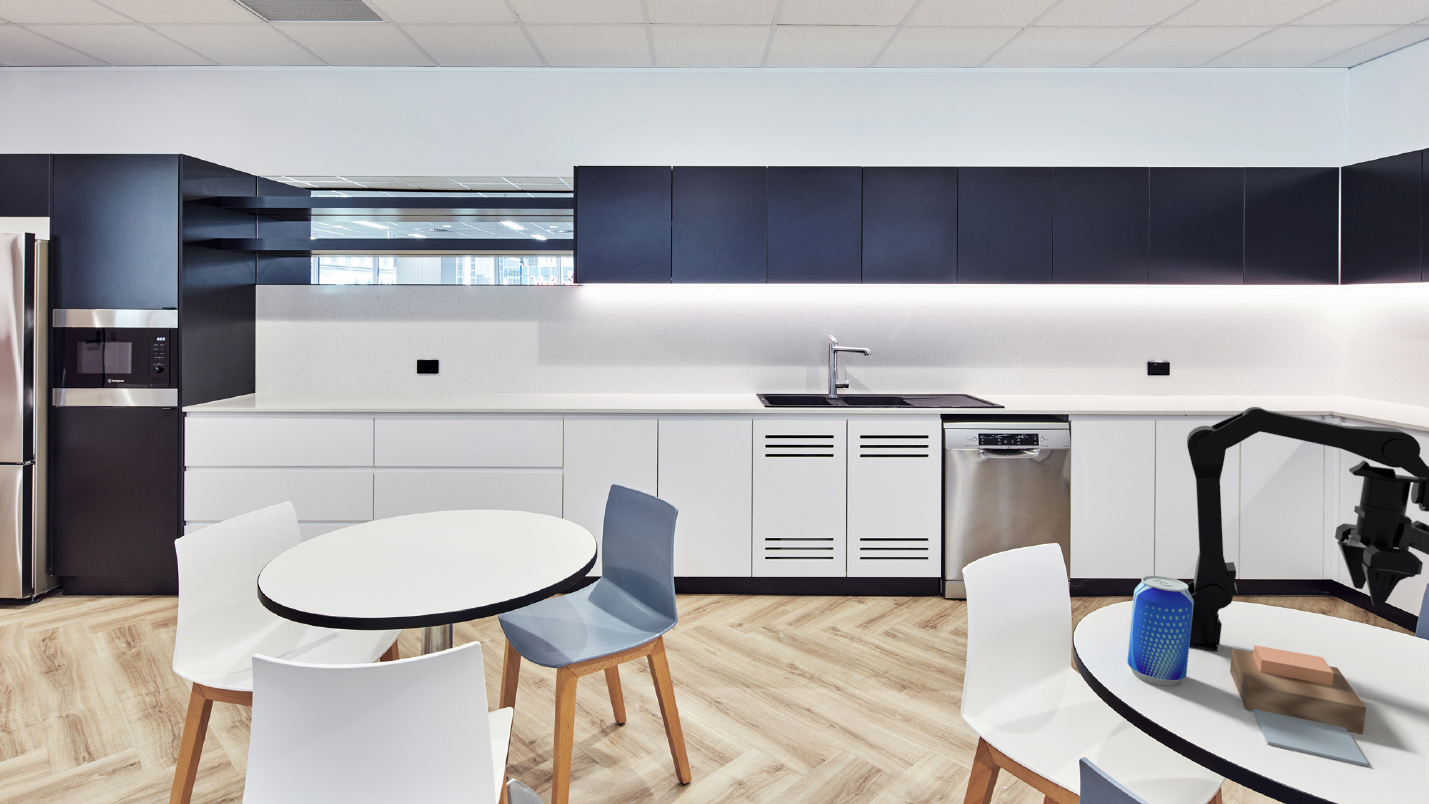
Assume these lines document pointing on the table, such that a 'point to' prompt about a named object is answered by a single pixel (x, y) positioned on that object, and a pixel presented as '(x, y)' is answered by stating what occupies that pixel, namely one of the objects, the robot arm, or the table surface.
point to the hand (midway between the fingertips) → (1367, 597)
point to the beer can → (1160, 630)
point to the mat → (1309, 737)
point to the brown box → (1297, 695)
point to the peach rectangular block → (1293, 665)
